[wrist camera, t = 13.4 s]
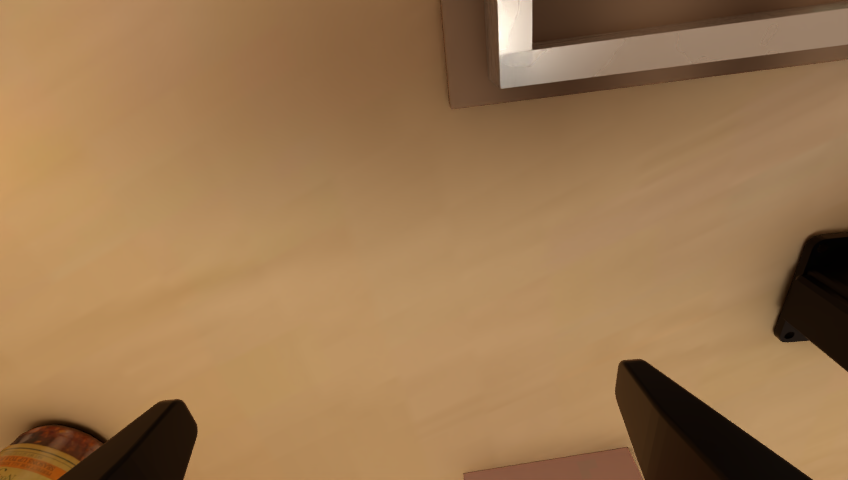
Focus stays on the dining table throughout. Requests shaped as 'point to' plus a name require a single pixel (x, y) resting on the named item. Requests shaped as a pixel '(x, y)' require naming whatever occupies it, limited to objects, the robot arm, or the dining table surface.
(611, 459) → the greeting card
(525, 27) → the steel rails
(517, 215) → the dining table surface
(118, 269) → the dining table surface
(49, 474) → the sauce bottle
